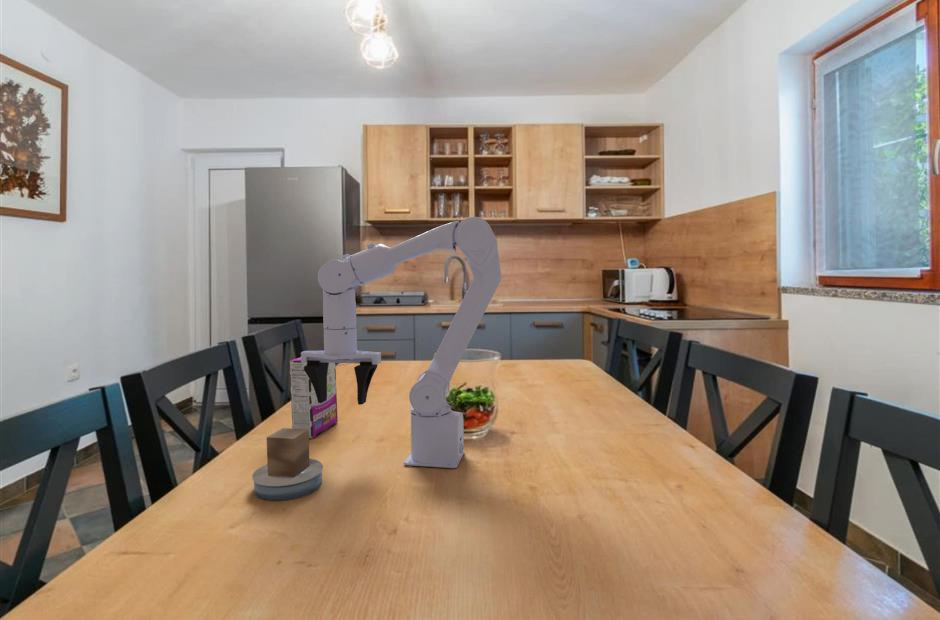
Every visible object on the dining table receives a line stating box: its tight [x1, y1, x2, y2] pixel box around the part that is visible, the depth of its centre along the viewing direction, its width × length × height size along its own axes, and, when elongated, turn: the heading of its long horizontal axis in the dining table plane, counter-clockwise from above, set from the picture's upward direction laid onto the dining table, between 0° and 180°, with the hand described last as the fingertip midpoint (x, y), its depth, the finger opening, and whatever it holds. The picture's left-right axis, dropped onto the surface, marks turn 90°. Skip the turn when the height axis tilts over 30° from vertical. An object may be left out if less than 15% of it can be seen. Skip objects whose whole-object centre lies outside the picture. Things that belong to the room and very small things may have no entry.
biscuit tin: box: [251, 458, 324, 502], centre depth 74 cm, size 10×10×3 cm
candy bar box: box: [289, 356, 339, 439], centre depth 101 cm, size 11×5×16 cm, turn 168°
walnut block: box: [266, 427, 310, 477], centre depth 74 cm, size 4×4×6 cm
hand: (342, 402), depth 85 cm, fingers open, 7 cm apart
